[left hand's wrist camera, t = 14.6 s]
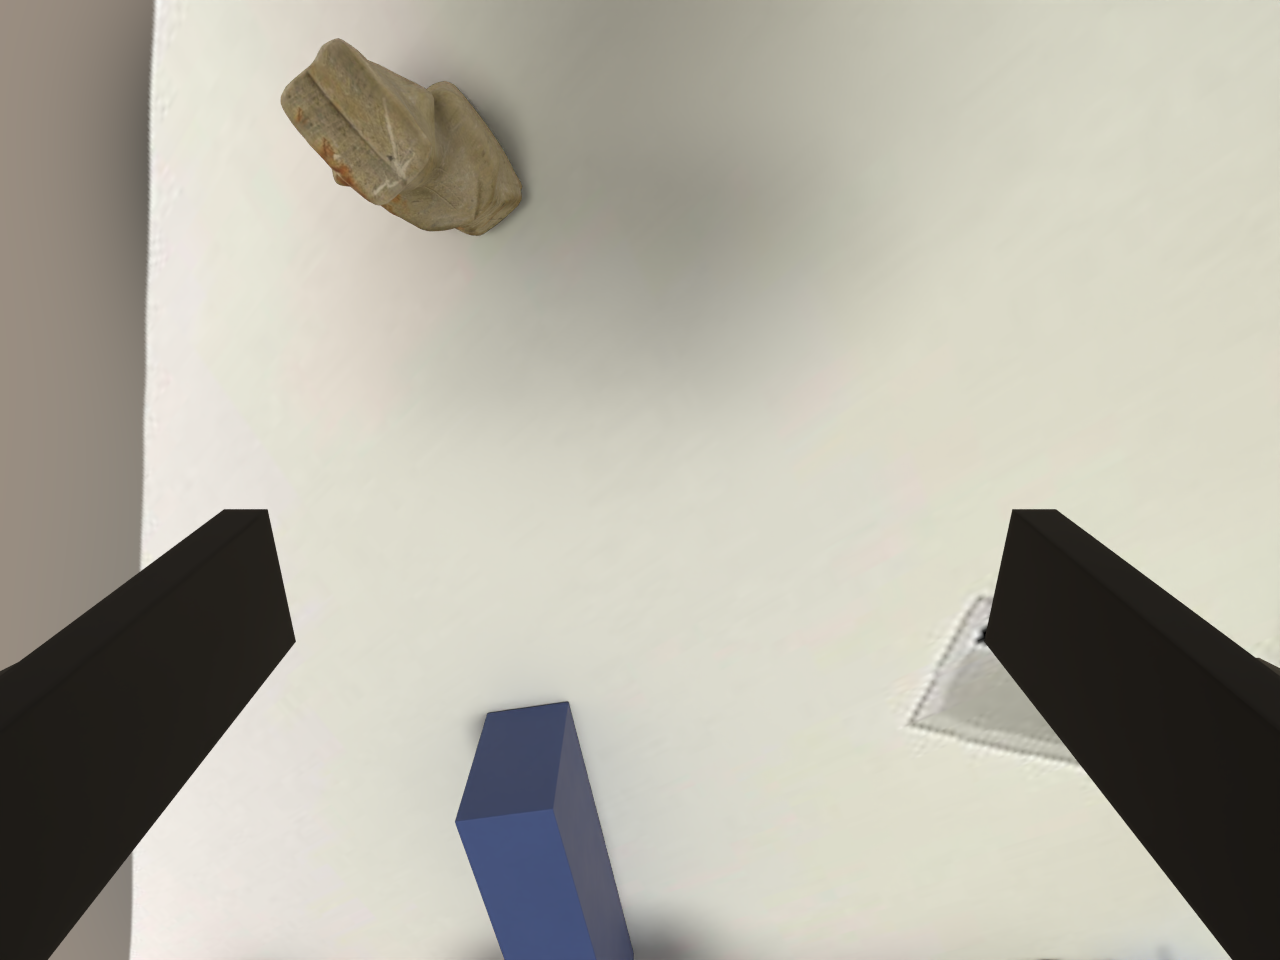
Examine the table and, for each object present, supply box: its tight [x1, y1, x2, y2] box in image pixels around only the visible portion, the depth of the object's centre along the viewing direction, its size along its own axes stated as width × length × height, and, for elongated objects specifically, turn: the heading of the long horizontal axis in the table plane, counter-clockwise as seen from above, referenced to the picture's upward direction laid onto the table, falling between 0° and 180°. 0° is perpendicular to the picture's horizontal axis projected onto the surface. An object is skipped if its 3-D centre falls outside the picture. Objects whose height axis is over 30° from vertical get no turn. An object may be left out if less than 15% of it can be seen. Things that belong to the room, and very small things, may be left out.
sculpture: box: [281, 39, 522, 236], centre depth 32 cm, size 6×7×15 cm
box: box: [455, 702, 634, 960], centre depth 53 cm, size 28×6×10 cm, turn 10°
